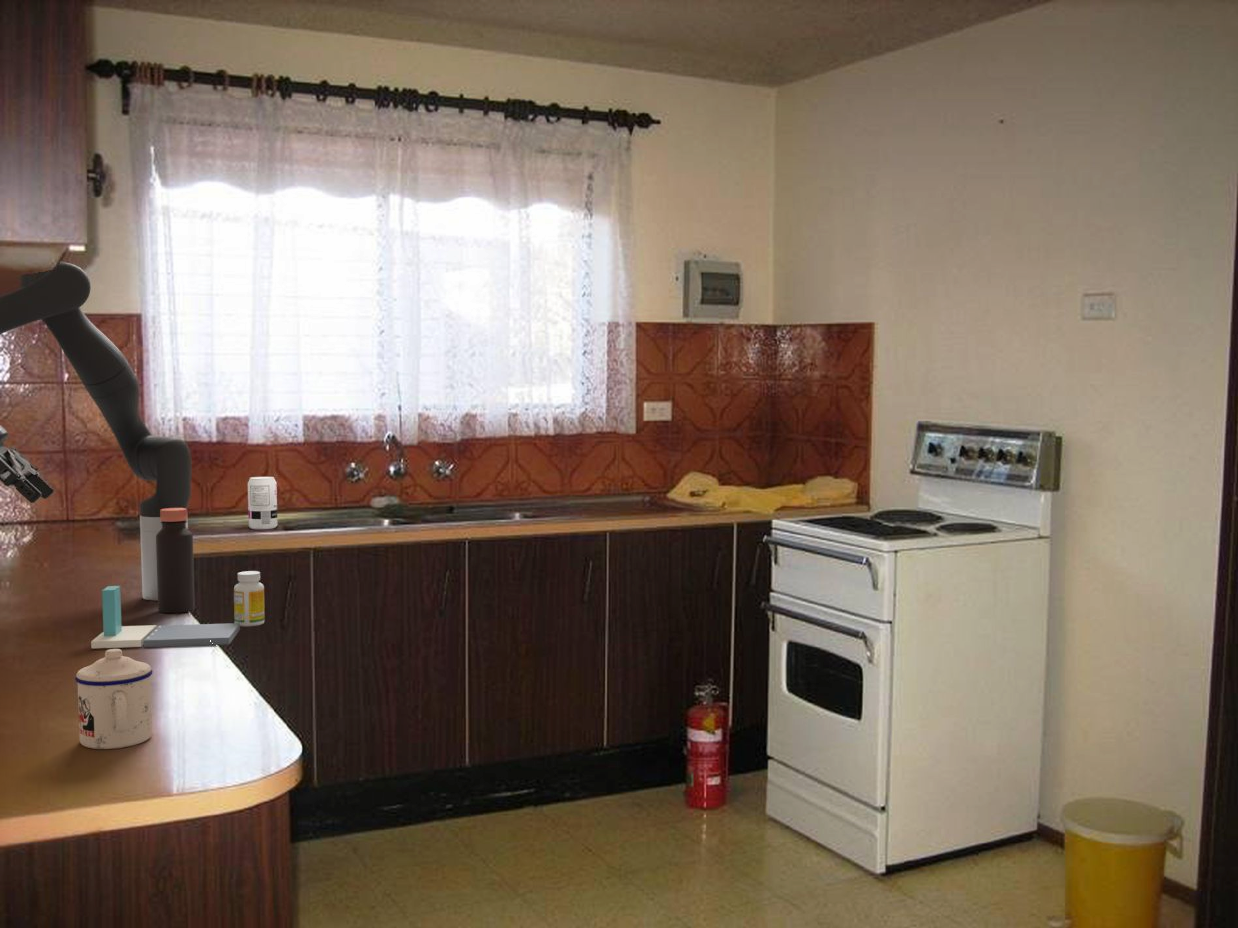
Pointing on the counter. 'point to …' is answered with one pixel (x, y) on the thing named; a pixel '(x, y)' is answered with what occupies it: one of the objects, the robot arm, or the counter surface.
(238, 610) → the supplement bottle
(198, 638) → the board
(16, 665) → the counter surface
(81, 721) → the teacup with lid
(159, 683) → the counter surface
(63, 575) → the counter surface
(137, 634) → the teal block on base
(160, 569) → the vinegar
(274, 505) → the supplement can
